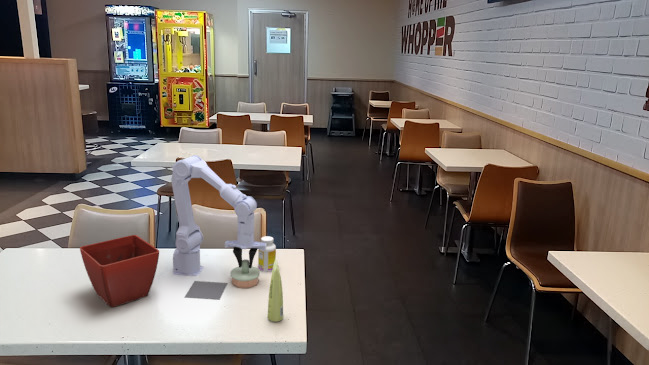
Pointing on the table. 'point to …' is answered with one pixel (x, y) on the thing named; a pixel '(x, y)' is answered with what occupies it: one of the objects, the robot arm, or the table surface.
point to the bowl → (245, 283)
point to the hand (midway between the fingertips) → (245, 266)
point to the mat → (206, 290)
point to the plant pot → (121, 268)
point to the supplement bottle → (267, 255)
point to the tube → (275, 295)
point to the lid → (245, 272)
